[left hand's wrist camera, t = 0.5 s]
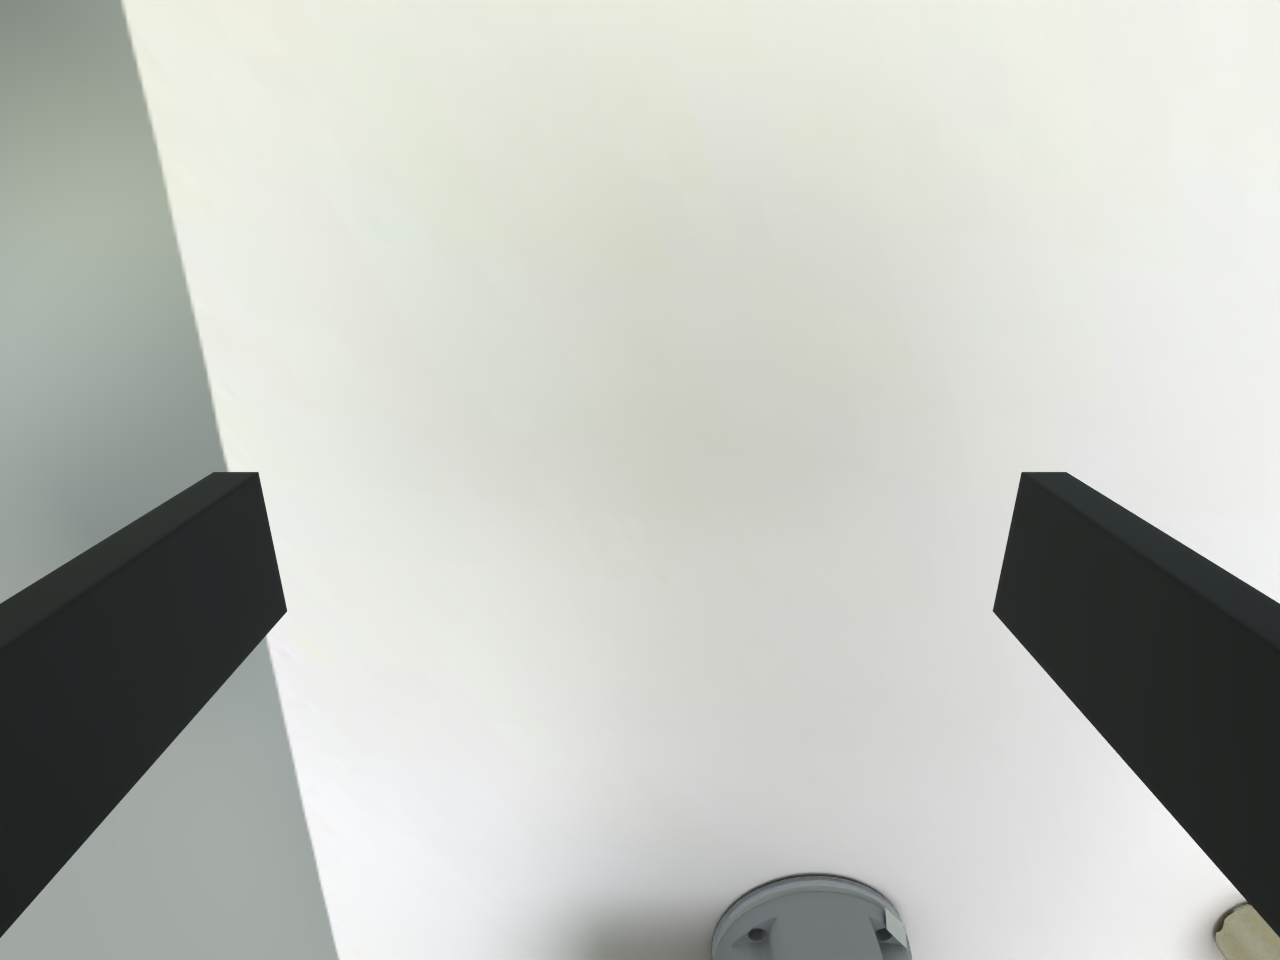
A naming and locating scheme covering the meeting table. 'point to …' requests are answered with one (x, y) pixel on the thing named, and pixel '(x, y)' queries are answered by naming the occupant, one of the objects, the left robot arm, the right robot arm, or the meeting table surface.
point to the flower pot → (1247, 937)
